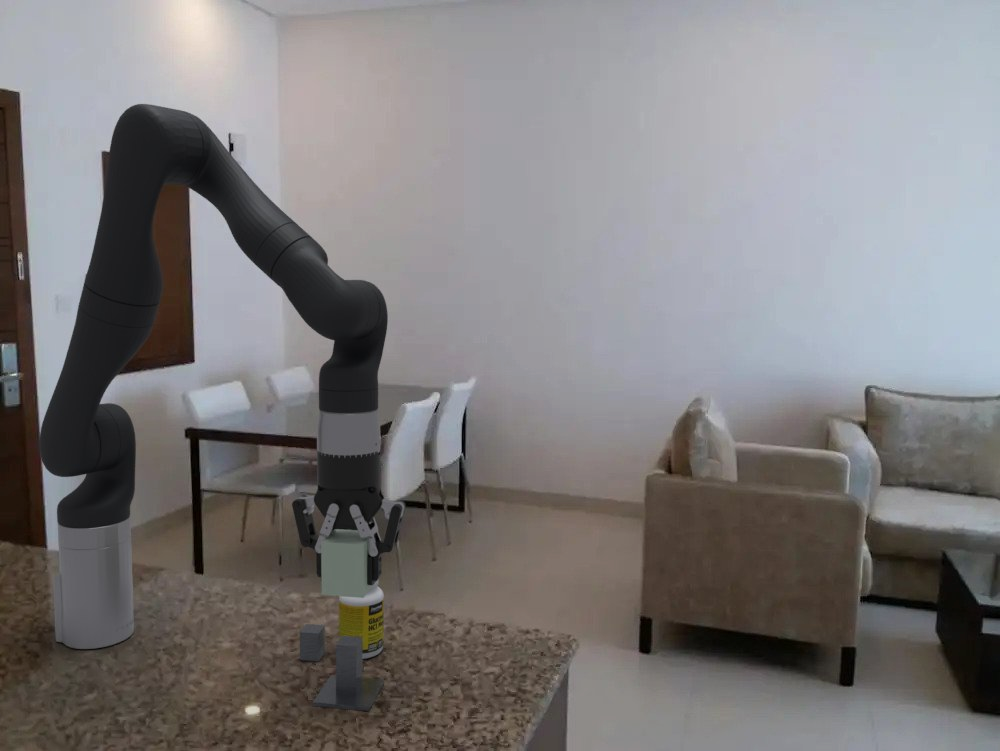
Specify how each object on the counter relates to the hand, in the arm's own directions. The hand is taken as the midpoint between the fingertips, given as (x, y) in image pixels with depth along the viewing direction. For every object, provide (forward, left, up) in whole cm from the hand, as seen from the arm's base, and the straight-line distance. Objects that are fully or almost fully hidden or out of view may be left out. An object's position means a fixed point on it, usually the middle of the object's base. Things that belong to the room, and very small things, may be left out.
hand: (349, 580), depth 102 cm
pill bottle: (-2, +12, -15) cm, 19 cm away
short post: (-8, +9, -15) cm, 19 cm away
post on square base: (0, 0, -15) cm, 15 cm away
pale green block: (0, 0, -1) cm, 1 cm away
